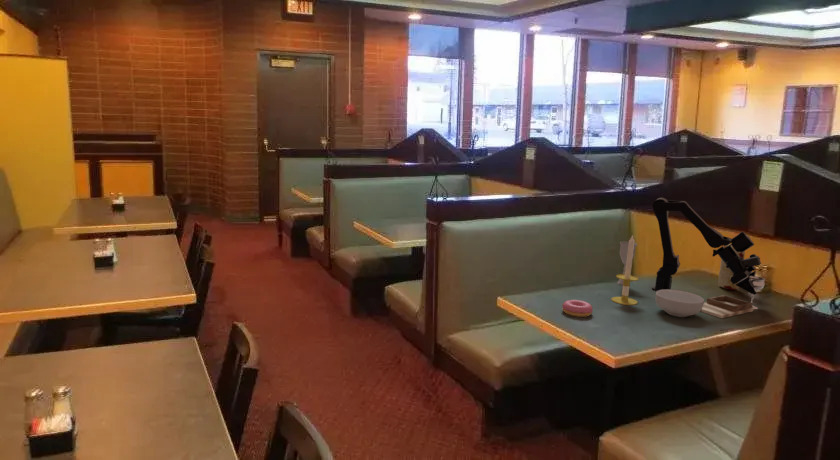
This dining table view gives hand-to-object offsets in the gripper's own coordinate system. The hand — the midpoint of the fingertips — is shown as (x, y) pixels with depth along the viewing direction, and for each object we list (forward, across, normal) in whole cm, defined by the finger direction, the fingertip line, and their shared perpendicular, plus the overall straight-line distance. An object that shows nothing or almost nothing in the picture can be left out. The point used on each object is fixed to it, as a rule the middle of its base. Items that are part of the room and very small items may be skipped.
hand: (757, 292), depth 249 cm
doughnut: (-29, -61, +39) cm, 78 cm away
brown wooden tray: (-2, -13, +11) cm, 17 cm away
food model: (-5, +23, +15) cm, 28 cm away
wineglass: (+4, 0, +6) cm, 7 cm away
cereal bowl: (-10, -32, +19) cm, 39 cm away
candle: (-24, -32, +34) cm, 53 cm away
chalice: (-31, -7, +41) cm, 52 cm away
